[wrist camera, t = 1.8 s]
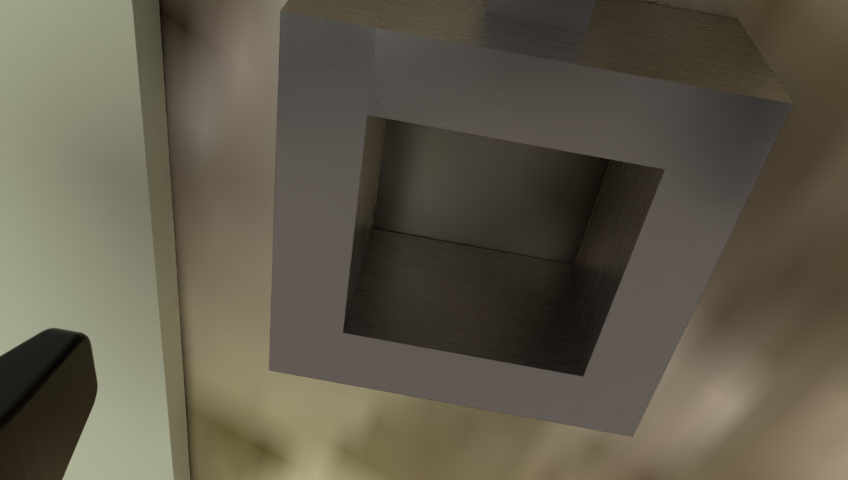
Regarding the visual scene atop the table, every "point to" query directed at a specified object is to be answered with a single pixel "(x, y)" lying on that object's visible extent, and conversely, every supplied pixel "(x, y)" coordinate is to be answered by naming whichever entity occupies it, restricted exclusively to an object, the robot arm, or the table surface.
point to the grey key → (529, 124)
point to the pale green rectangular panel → (94, 220)
